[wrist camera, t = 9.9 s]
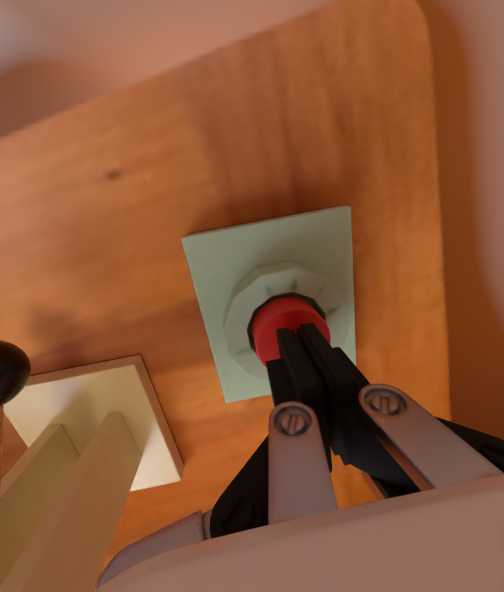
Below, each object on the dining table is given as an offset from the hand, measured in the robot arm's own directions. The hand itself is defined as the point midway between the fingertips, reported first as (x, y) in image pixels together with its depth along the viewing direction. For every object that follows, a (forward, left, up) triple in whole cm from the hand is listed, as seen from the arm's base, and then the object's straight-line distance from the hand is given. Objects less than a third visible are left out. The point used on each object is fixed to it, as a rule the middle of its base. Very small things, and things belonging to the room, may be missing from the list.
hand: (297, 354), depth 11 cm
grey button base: (0, 0, -5) cm, 5 cm away
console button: (0, 0, -2) cm, 2 cm away
